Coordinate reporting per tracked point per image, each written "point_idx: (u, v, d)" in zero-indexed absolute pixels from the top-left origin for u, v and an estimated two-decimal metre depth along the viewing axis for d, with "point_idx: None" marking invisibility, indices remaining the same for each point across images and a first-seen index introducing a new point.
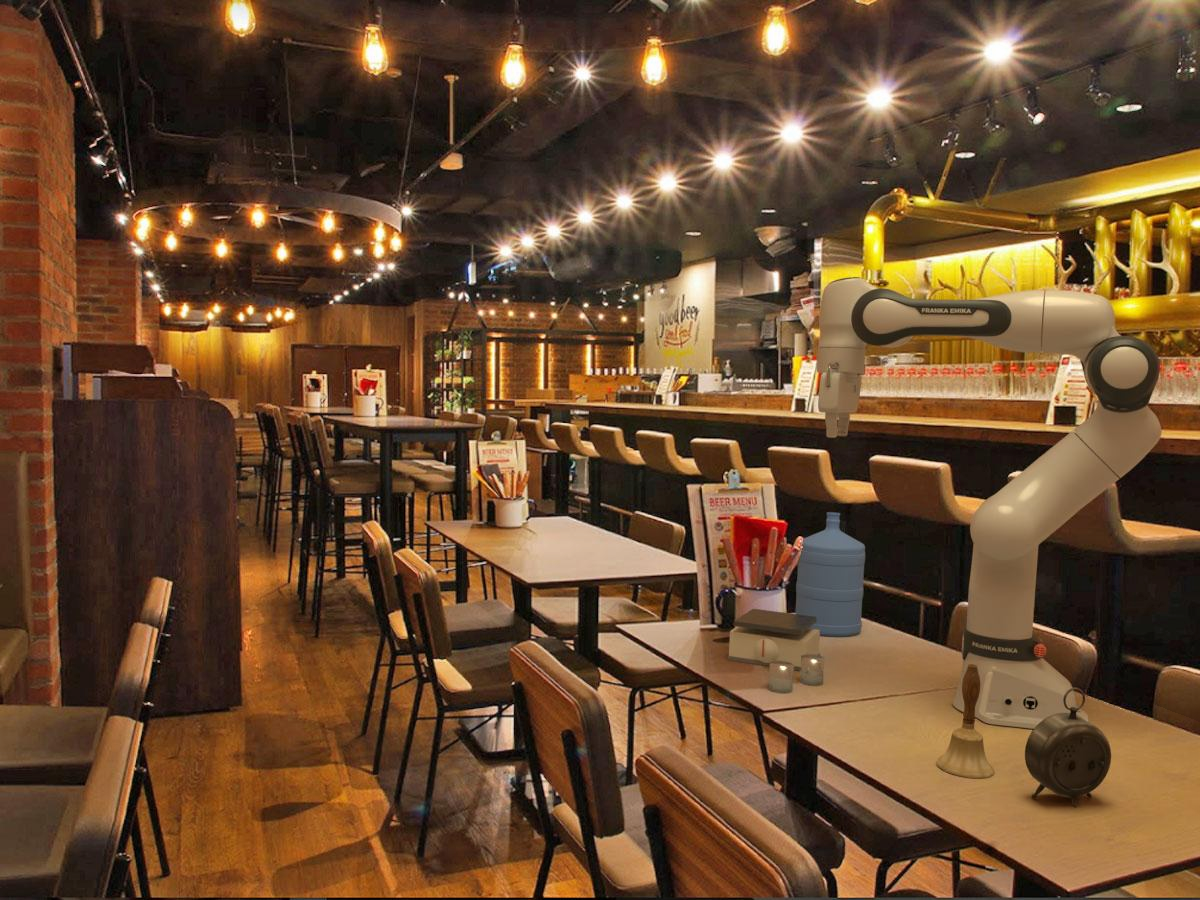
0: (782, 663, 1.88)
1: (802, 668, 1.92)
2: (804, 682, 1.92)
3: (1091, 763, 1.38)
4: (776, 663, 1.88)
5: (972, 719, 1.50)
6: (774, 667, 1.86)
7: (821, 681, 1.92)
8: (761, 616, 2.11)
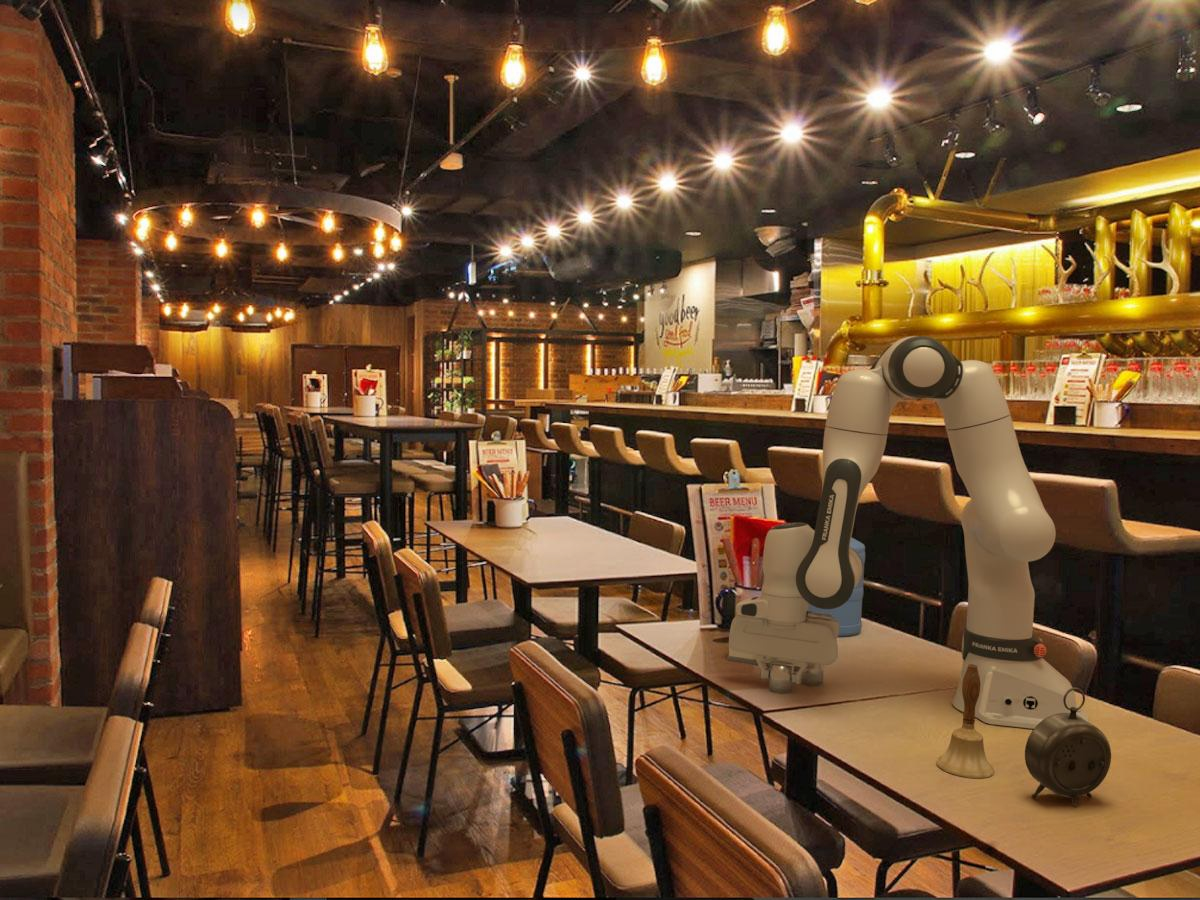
0: (782, 663, 1.88)
1: None
2: (804, 682, 1.92)
3: (1091, 763, 1.38)
4: (776, 663, 1.88)
5: (972, 719, 1.50)
6: (775, 667, 1.86)
7: (821, 681, 1.92)
8: None
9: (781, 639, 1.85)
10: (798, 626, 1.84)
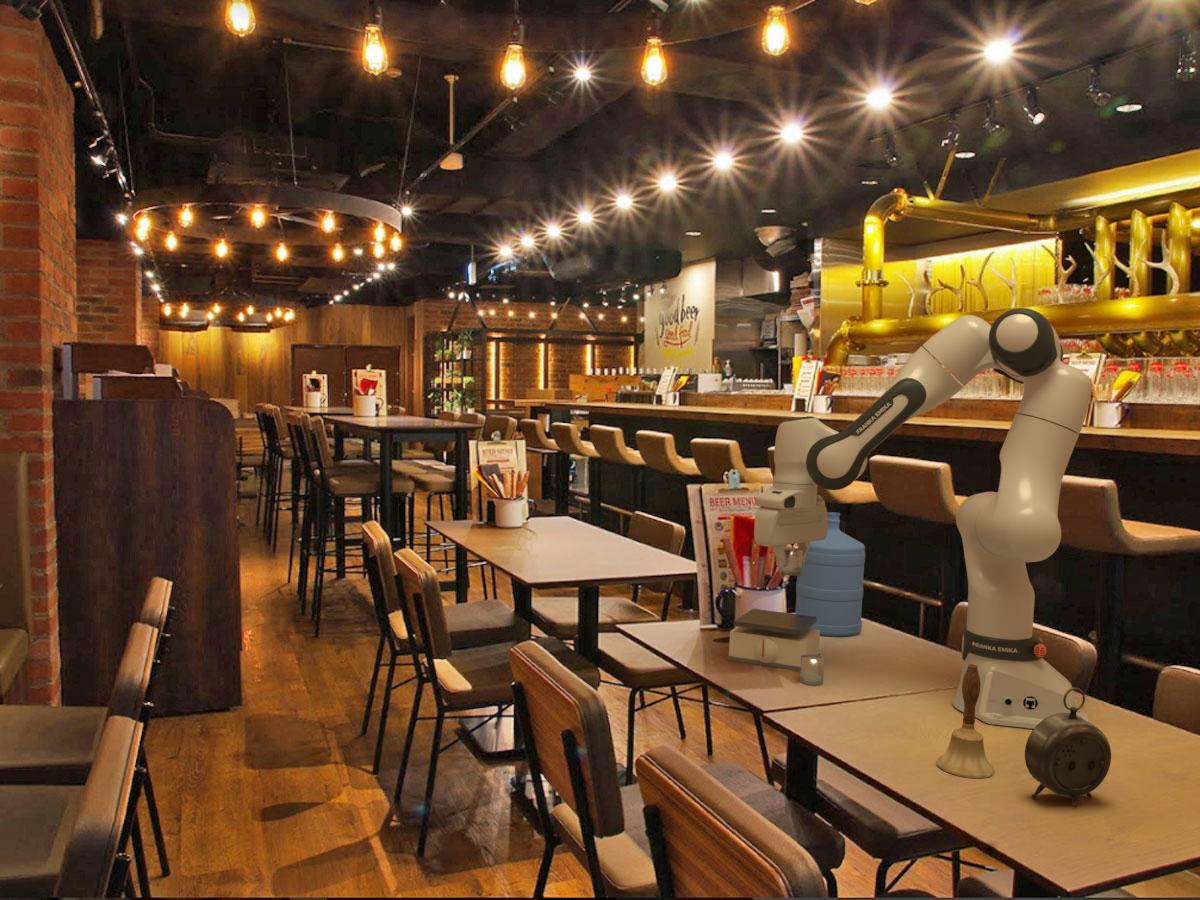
0: (789, 548, 2.01)
1: (802, 668, 1.92)
2: (804, 682, 1.92)
3: (1091, 763, 1.38)
4: (789, 549, 2.00)
5: (972, 719, 1.50)
6: (797, 552, 1.99)
7: (822, 681, 1.92)
8: (761, 616, 2.11)
9: (800, 524, 1.99)
10: (810, 510, 2.01)
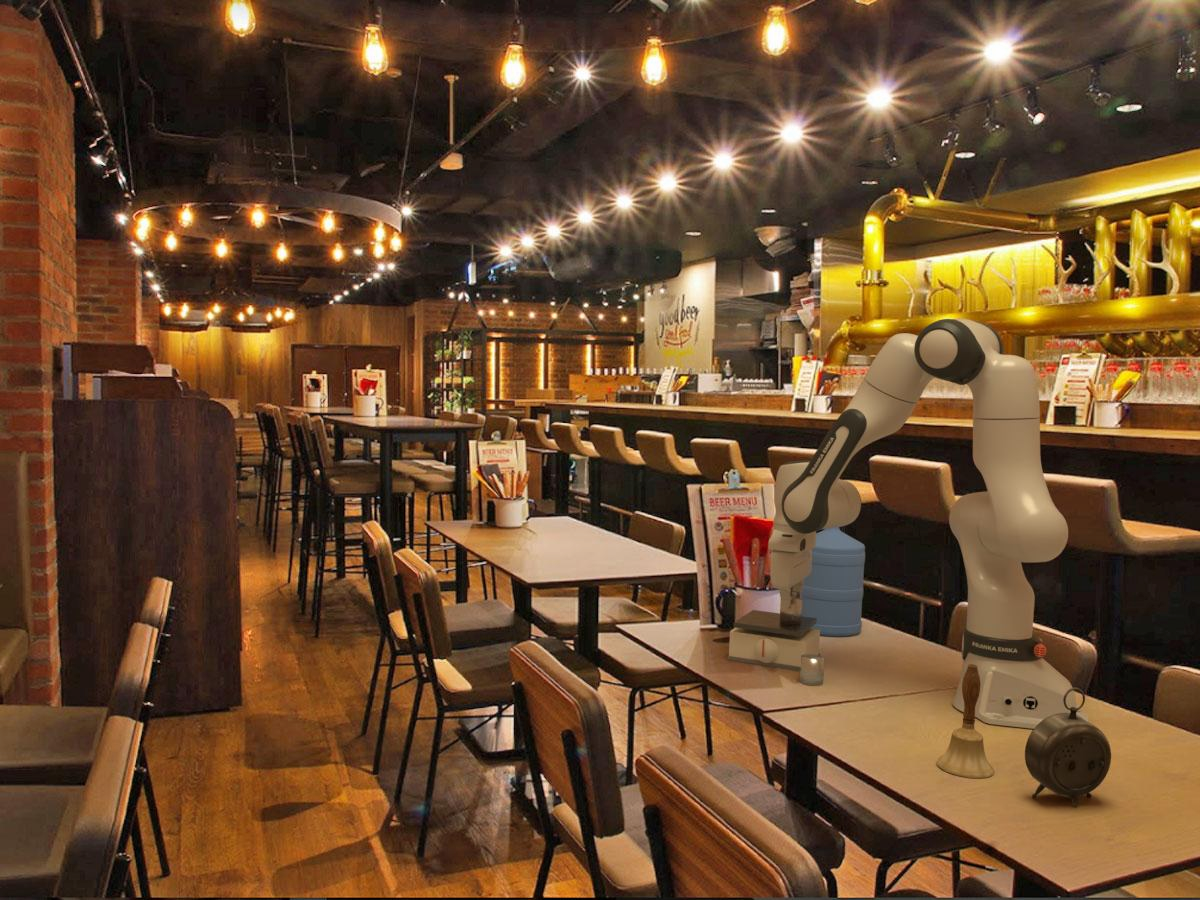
0: None
1: (802, 668, 1.92)
2: (804, 682, 1.92)
3: (1091, 763, 1.38)
4: (791, 599, 2.07)
5: (972, 719, 1.50)
6: (800, 601, 2.06)
7: (822, 680, 1.92)
8: (761, 617, 2.11)
9: (801, 564, 2.07)
10: None
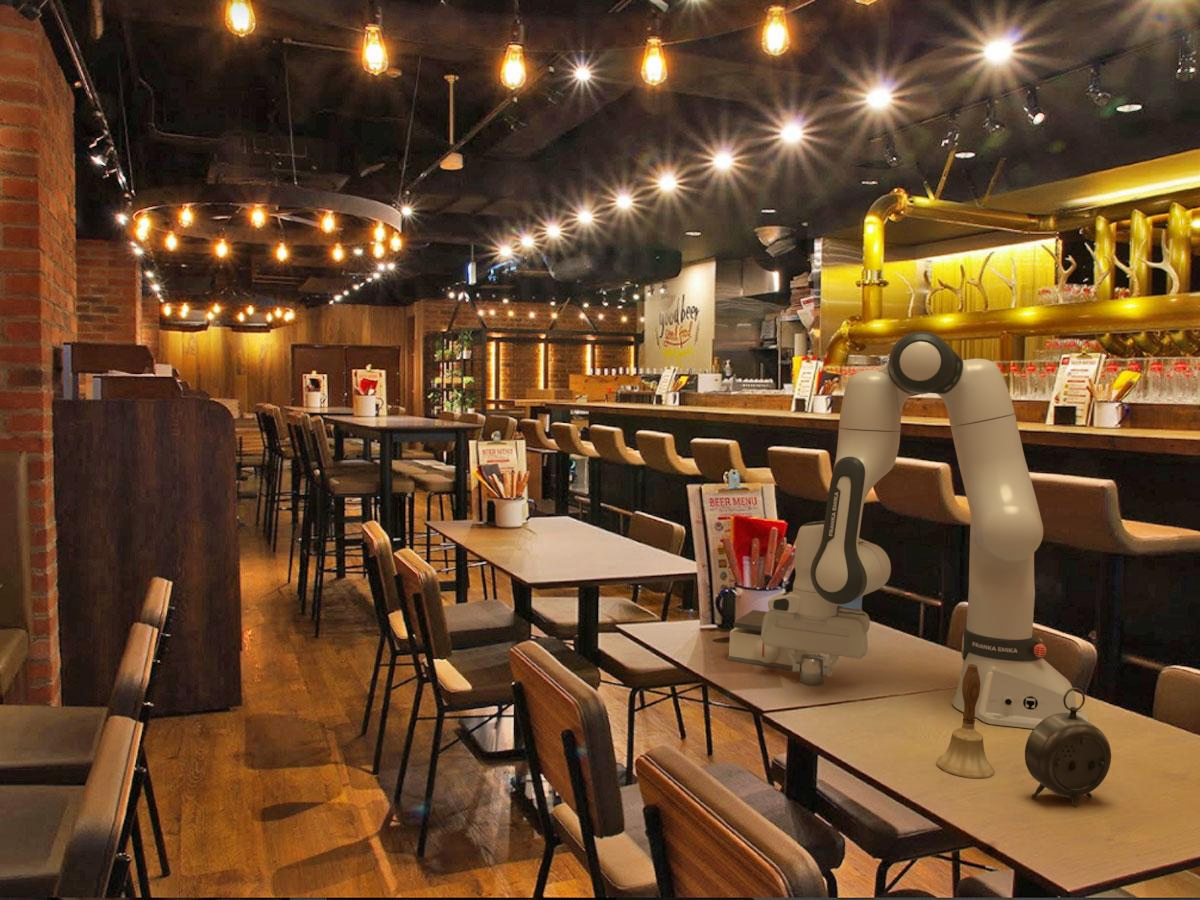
0: None
1: (804, 668, 1.92)
2: (806, 682, 1.91)
3: (1091, 763, 1.38)
4: None
5: (972, 719, 1.50)
6: None
7: (822, 680, 1.92)
8: (761, 617, 2.11)
9: (813, 633, 1.91)
10: (829, 620, 1.89)
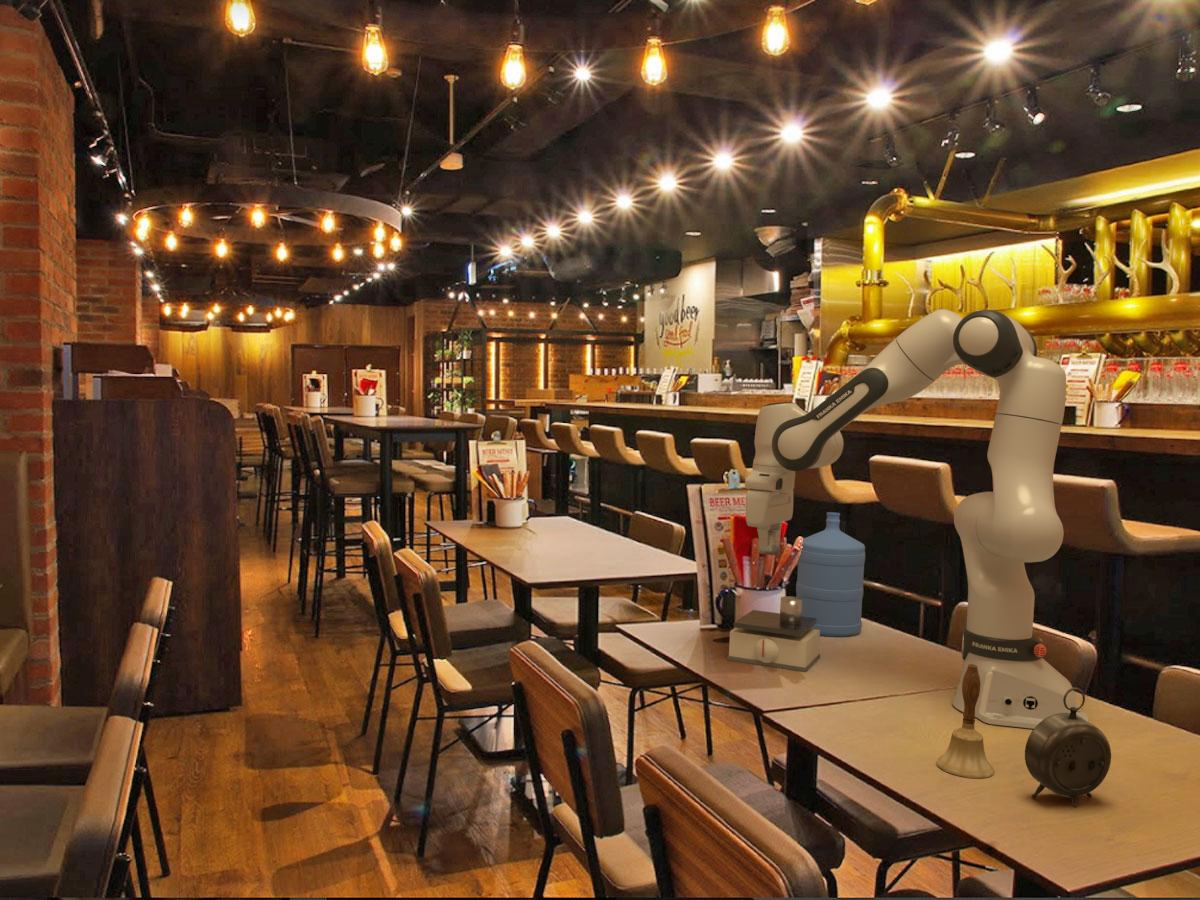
0: (789, 598, 2.08)
1: (776, 540, 2.07)
2: (777, 552, 2.07)
3: (1091, 763, 1.38)
4: (791, 599, 2.07)
5: (972, 719, 1.50)
6: (800, 601, 2.06)
7: None
8: (761, 617, 2.11)
9: (779, 506, 2.08)
10: None
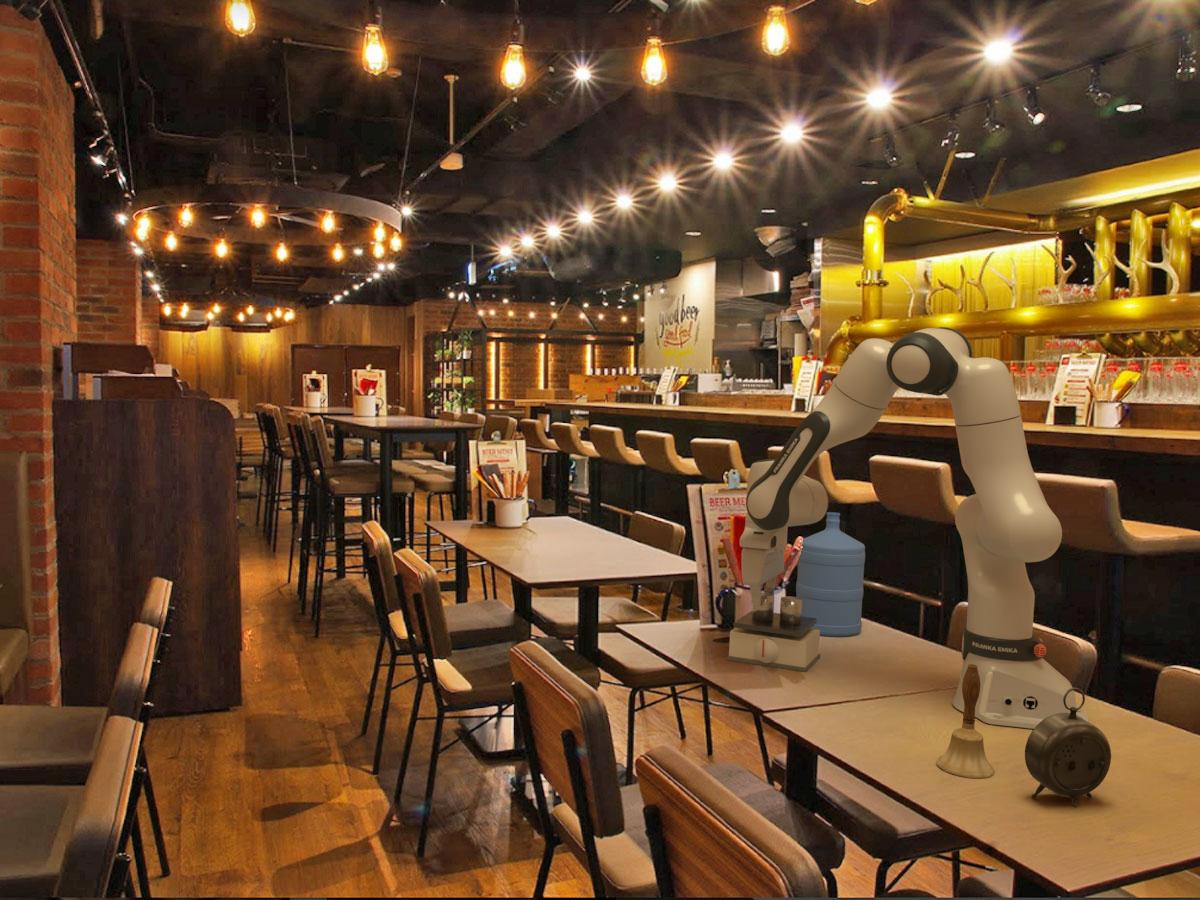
0: (789, 598, 2.08)
1: (770, 606, 2.08)
2: (772, 618, 2.09)
3: (1091, 763, 1.38)
4: (791, 599, 2.07)
5: (972, 719, 1.50)
6: (800, 601, 2.06)
7: None
8: None
9: (773, 561, 2.09)
10: None
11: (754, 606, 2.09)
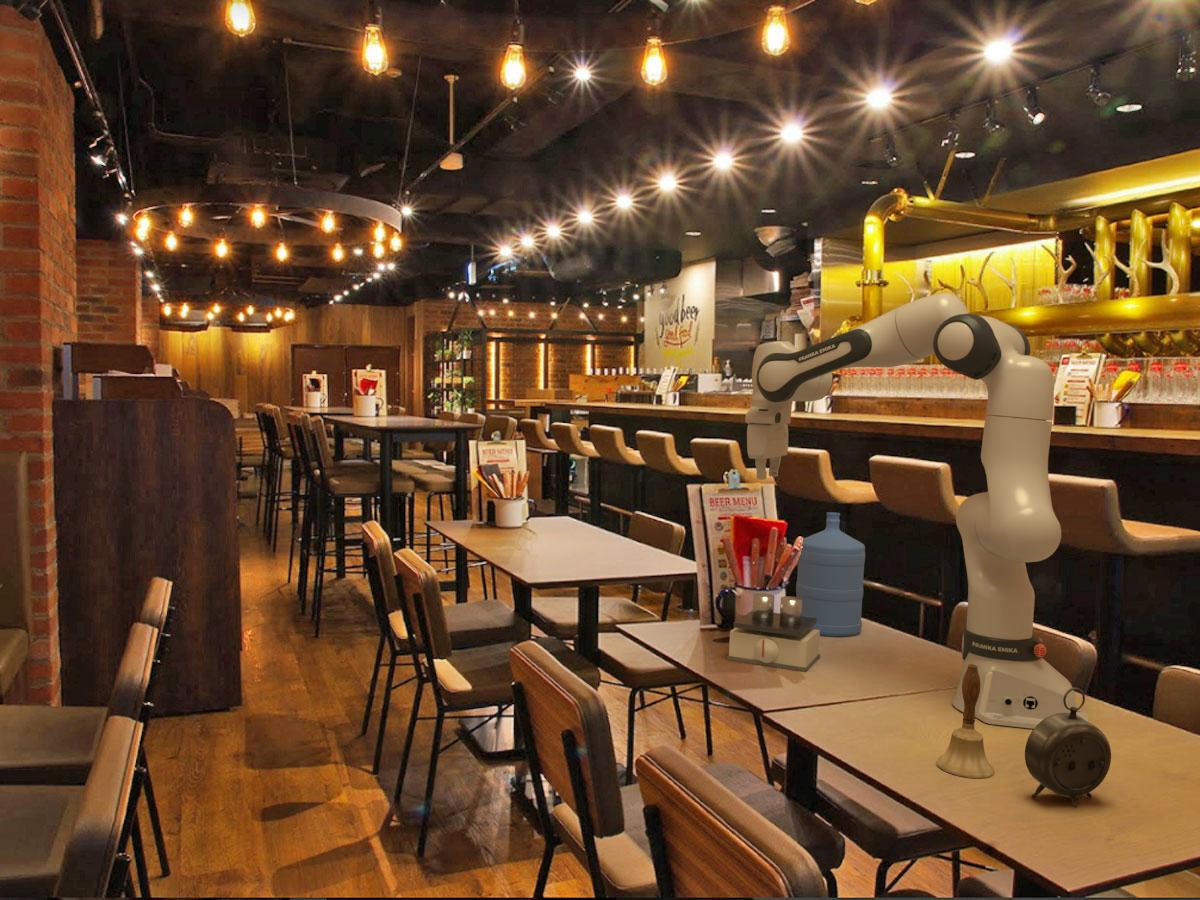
0: (789, 598, 2.08)
1: (770, 606, 2.08)
2: (772, 618, 2.09)
3: (1091, 763, 1.38)
4: (791, 599, 2.07)
5: (972, 719, 1.50)
6: (800, 601, 2.06)
7: None
8: None
9: (777, 440, 2.18)
10: None
11: (754, 606, 2.09)
